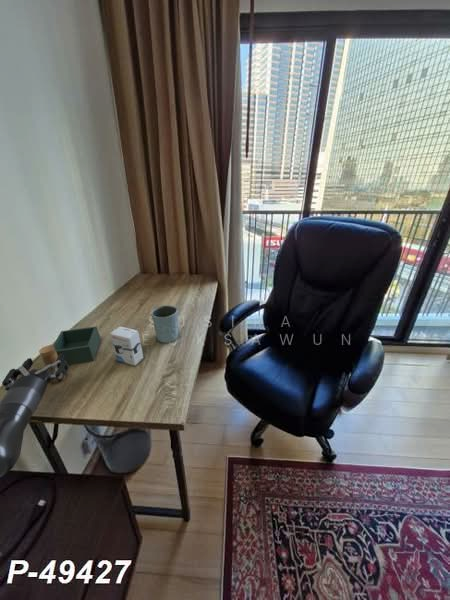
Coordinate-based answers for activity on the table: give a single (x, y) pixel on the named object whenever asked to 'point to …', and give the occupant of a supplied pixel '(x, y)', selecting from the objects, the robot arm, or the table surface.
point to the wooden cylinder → (49, 358)
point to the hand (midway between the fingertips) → (46, 358)
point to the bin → (78, 344)
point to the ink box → (127, 345)
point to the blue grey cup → (165, 323)
